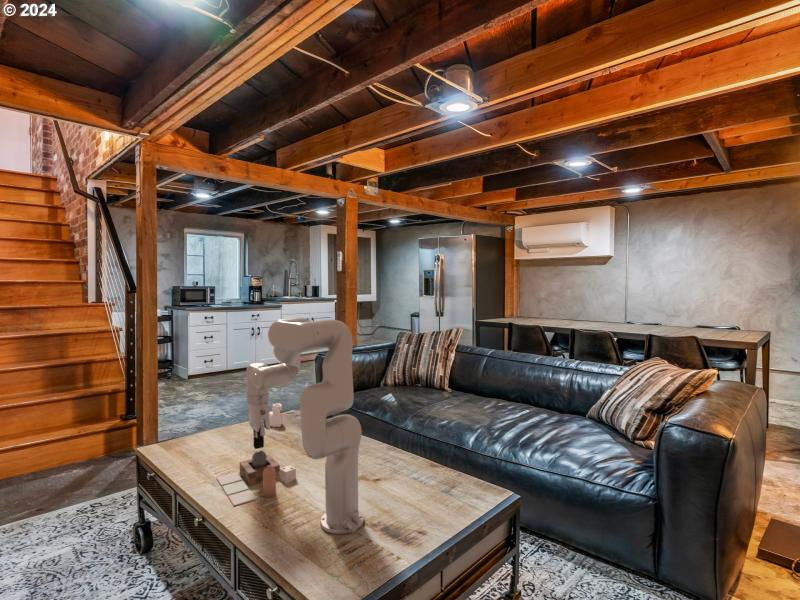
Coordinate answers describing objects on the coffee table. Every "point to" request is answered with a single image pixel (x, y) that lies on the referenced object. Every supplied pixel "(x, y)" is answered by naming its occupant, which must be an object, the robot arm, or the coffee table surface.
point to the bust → (276, 415)
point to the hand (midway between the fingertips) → (258, 447)
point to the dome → (259, 459)
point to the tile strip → (236, 489)
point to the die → (287, 473)
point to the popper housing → (257, 470)
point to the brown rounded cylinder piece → (269, 482)
